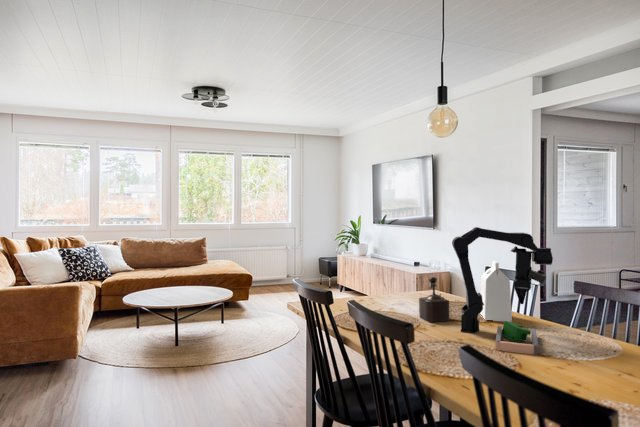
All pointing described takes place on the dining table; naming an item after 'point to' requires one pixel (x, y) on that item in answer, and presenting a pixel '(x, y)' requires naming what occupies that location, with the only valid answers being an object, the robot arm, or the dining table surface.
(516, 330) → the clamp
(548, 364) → the dining table surface
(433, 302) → the dark brown stamp
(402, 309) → the dining table surface
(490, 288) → the milk
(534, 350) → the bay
